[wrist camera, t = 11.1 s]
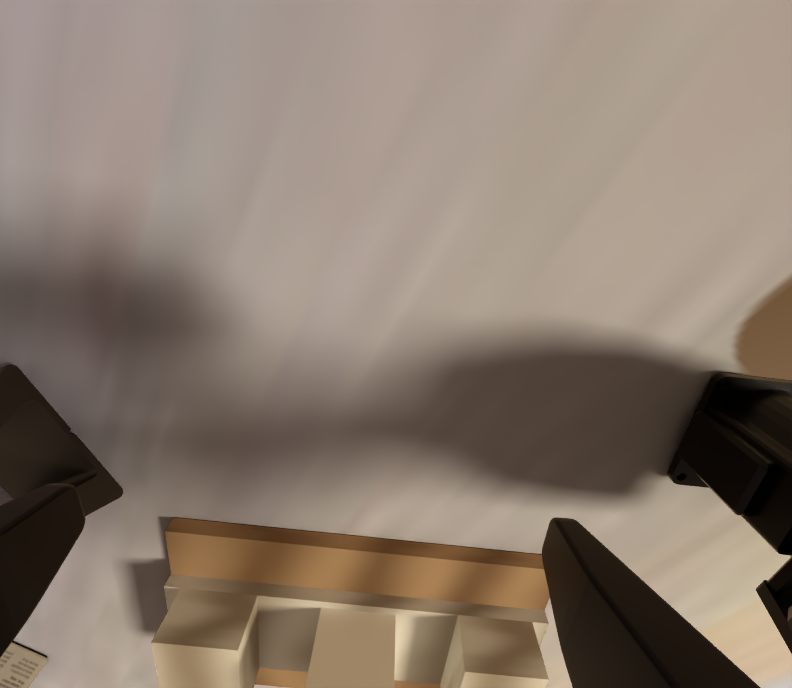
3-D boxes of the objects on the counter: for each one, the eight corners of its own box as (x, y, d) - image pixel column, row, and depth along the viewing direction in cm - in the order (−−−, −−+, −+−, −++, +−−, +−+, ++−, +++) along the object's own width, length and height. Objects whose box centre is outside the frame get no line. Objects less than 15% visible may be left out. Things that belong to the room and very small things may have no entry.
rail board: (553, 556, 25) (586, 639, 20) (504, 691, 30) (521, 780, 25) (174, 517, 24) (121, 594, 20) (192, 662, 29) (155, 748, 25)
